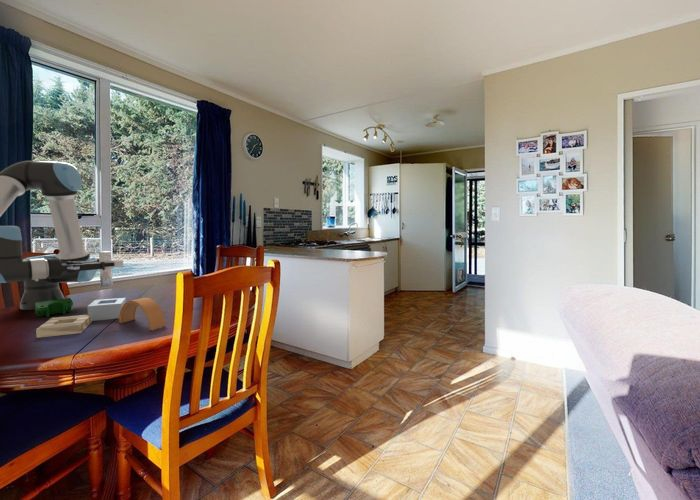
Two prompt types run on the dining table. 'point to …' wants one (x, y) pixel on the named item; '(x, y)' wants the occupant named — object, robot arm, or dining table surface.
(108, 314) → the slate holder block
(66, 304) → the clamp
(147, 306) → the arch
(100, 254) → the steel axle
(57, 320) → the birch block
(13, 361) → the dining table surface
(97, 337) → the dining table surface
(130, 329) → the dining table surface
